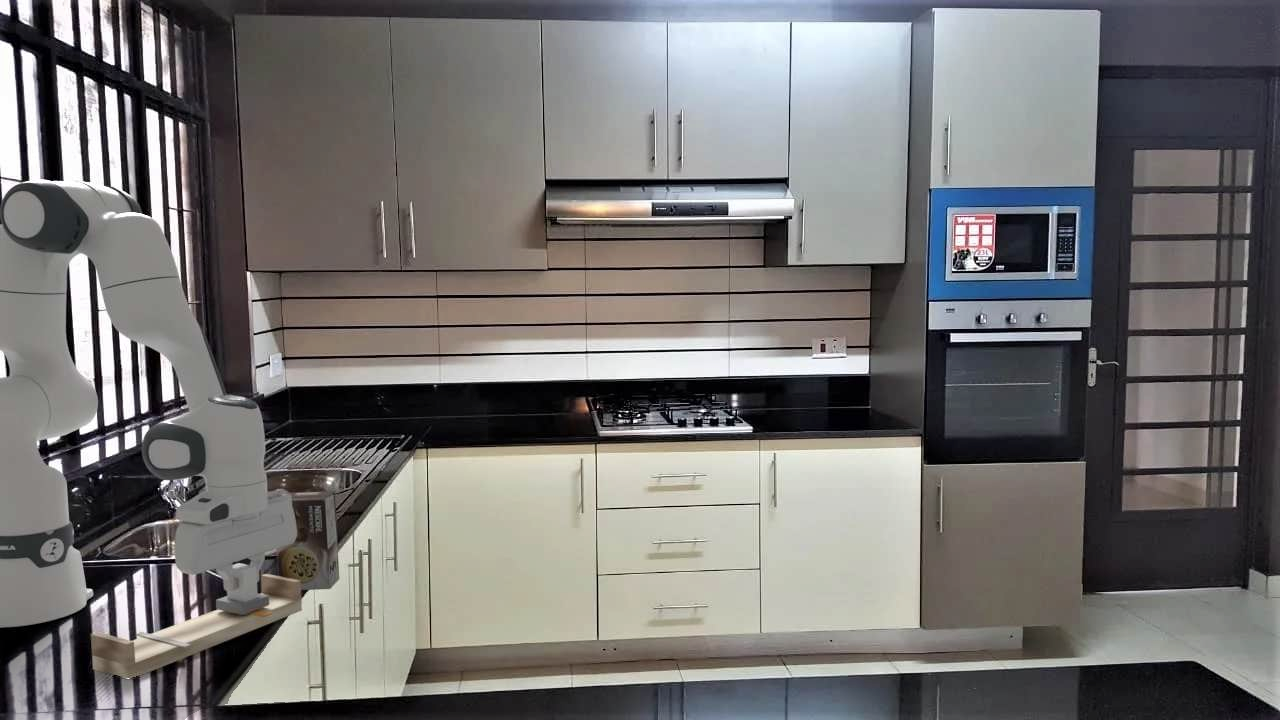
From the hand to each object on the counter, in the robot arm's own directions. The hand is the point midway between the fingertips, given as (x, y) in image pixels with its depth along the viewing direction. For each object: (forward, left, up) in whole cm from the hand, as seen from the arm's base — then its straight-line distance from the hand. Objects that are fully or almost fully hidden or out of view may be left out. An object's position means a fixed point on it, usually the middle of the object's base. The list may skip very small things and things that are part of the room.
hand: (241, 586), depth 150 cm
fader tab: (0, 0, -3) cm, 3 cm away
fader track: (0, -7, -6) cm, 9 cm away
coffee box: (-5, +18, -6) cm, 20 cm away
